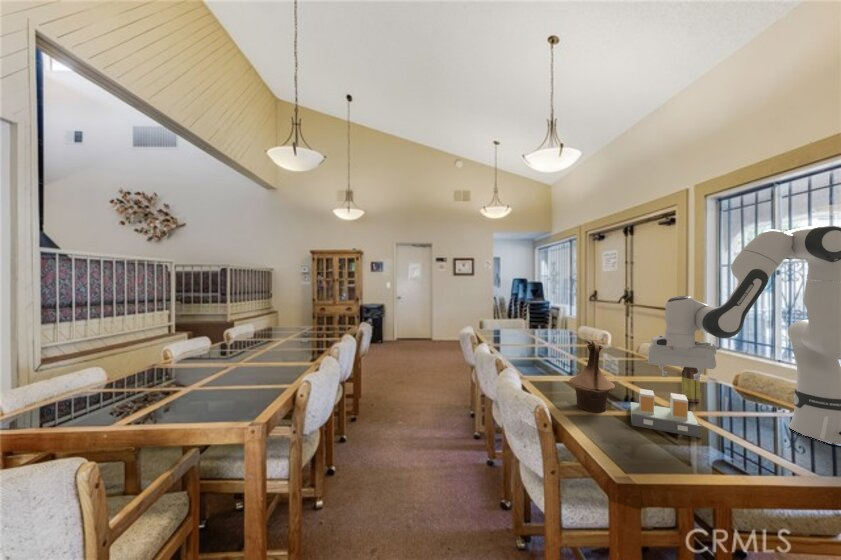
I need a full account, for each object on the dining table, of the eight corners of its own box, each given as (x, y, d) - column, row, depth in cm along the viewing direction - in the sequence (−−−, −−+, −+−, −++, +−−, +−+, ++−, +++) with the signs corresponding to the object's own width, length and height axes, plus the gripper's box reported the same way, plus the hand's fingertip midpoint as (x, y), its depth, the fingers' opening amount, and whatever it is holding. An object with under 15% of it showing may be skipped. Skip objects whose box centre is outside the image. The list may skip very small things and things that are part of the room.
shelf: (691, 419, 135) (691, 408, 135) (700, 438, 120) (701, 426, 120) (630, 409, 145) (630, 399, 145) (631, 425, 130) (632, 414, 130)
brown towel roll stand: (621, 418, 136) (622, 345, 135) (573, 414, 139) (574, 343, 139) (607, 401, 153) (608, 336, 152) (565, 398, 157) (565, 335, 156)
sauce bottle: (693, 398, 157) (694, 353, 157) (703, 403, 151) (704, 357, 151) (677, 397, 158) (678, 353, 157) (686, 403, 152) (687, 356, 151)
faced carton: (652, 408, 138) (652, 390, 138) (654, 414, 132) (654, 396, 132) (638, 406, 140) (639, 388, 140) (639, 412, 134) (640, 393, 134)
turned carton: (684, 413, 133) (685, 395, 133) (687, 420, 127) (688, 400, 127) (670, 411, 135) (670, 393, 135) (672, 417, 129) (672, 398, 129)
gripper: (714, 341, 128) (714, 379, 128) (646, 337, 138) (647, 372, 138) (718, 344, 123) (718, 384, 123) (648, 340, 133) (648, 377, 133)
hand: (680, 378), depth 131 cm, fingers open, 8 cm apart
